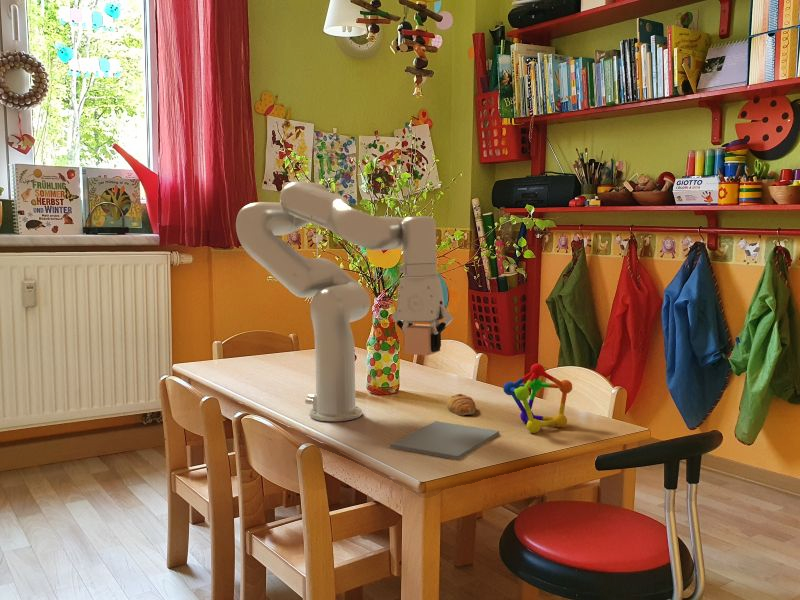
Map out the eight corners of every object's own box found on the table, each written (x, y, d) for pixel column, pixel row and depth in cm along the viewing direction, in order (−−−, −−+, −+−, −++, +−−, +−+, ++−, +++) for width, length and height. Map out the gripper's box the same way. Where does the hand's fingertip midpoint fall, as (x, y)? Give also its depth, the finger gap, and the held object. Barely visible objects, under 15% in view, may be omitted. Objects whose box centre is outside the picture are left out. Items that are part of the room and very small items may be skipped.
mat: (389, 447, 153) (389, 443, 153) (435, 424, 170) (435, 421, 170) (457, 460, 145) (457, 456, 145) (499, 434, 162) (499, 430, 162)
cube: (404, 353, 166) (403, 327, 165) (417, 349, 171) (416, 324, 170) (428, 355, 163) (427, 328, 162) (440, 351, 168) (439, 325, 168)
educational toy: (529, 419, 178) (534, 357, 177) (574, 430, 168) (579, 365, 167) (486, 425, 167) (491, 360, 167) (531, 437, 158) (536, 368, 157)
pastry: (481, 416, 178) (481, 401, 177) (455, 418, 176) (454, 403, 176) (470, 406, 187) (469, 392, 186) (444, 408, 185) (444, 394, 185)
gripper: (379, 272, 166) (381, 350, 168) (447, 272, 158) (449, 355, 159) (395, 270, 173) (398, 345, 174) (462, 270, 164) (464, 349, 166)
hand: (422, 349), depth 167 cm, fingers closed on cube, 6 cm apart
